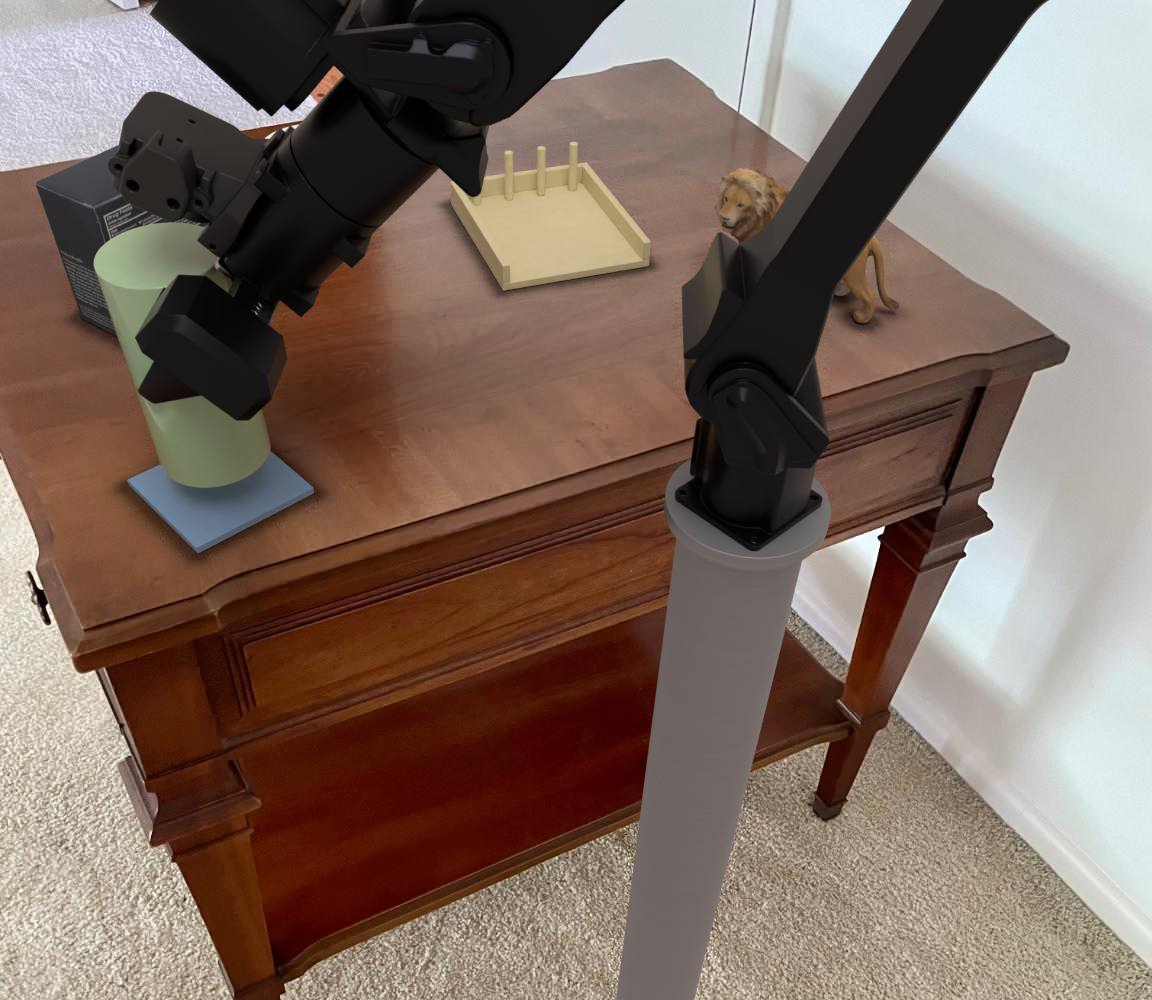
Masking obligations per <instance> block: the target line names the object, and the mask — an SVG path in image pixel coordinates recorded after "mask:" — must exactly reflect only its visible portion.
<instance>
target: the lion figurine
mask: <svg viewBox="0 0 1152 1000" xmlns="http://www.w3.org/2000/svg"><path fill="white" fill-rule="evenodd" d="M718 191H719V192H718V194H717V198H716V202H715V206H714V209H715V213H716V217H717V219H718V221H719V223H720V224H721V230H722V231H723V233H728V234H729V235H730V236H732V237H734V238H735V239H736V240H737V243H738V244H739V245H740V244H741V243H743V242H744V241H746V240H747V239H749V238H750V237H752V236H753V235H755V234H756V233H758V232H759V231H761V230H762V229H763V228H765V227H766V226H767V224H768V223H769V222H770V221H771V220H772V219H773V217H774V216H775V214H776V212H777V211H778V209H779V208H780V206H781V205H782V203H783V201H784V200H785V198H786V197H787V195H788V194H789V192H790V190H789V189H788V188H785V186H784V185H783V184H781V183H776V180H775V178H774V177H772V176H768V175H767V174H765V173H763V172H761V171H760V170H759V169H756V170H754V169H751V168H750V167H746V168H744V167H739V168H736V169H734V170H733V171H730V172H729V173H728V175H722V176H721V182H720V188H719V190H718ZM870 256H872V258H873V265H874V272H875V281H876V288H877V292H878V296H879V298H880V300H881V302H882V304H883V305H884V306H885V307H886V308H888V310H898V309H899V308H900V303H899V302H898V301H896V300H895V299H893V298H891V297H889V296H888V295H887V292H886V288H885V264H884V255H883V250H882V247H881V244H880V242H879V240H878V238H877V237H876V234H875V235H874V236H873V238H872V239H871V240H870V242H869V243H868V245H867V246H866V247H865V249H864V250H863V251H862V253H861V254H860V256H859V257H858V258H857V260H856V261H855V263H854V264H853V265H852V267H851V268H850V270H849V271H848V272H847V274H846V275H845V277H844V278H843V279H842V282H843V283H842V284H841V283H840V284H839V286H838V288H837V290H836V292H835V294H834V296H838V297H843V296H846V295H847V294H849V293H850V292H851V293H852V294H853V295H854V296H855V297H856V298H857V299H858V301H860V303H861V305H862V307H863V308H862V309H856V310H855V311H854V312H853V313H852V315H853V319H854V321H855V322H857V324H867V323H868V322H869V321H870V320H871V319H872V317H873V315H874V312H875V292H874V291H873V290H872V289H871V287H870V285H869V283H868V280H867V279H868V278H867V275H866V266H867V262H868V258H869V257H870Z"/></svg>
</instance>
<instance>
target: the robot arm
mask: <svg viewBox="0 0 1152 1000" xmlns="http://www.w3.org/2000/svg"><path fill="white" fill-rule="evenodd" d="M1049 1H1050V0H910V1H909V3H908V5H907V6H906V8H905V9H904V11H903V12H902V14H901V15H900V17H899V19H898V20H897V22H896V24H895V25H894V26H893V28H892V30H891V31H890V33H889V34H888V36H887V38H886V39H885V40H884V43H883V44H882V46H881V47H880V49H879V50H878V52H877V53H876V55H875V56H874V58H873V60H872V61H871V63H870V64H869V66H868V67H867V69H866V70H865V72H864V74H863V75H862V77H861V78H860V80H859V82H858V83H857V85H856V87H855V88H854V89H853V91H852V93H851V95H850V96H849V98H848V99H847V101H846V102H845V104H844V105H843V106H842V108H841V111H840V112H839V113H838V115H837V117H836V118H835V119H834V121H833V123H832V124H831V126H830V127H829V128H828V130H827V132H826V134H825V135H824V137H823V139H822V140H821V141H820V143H819V145H818V146H817V148H816V149H815V151H814V152H813V154H812V156H811V157H810V159H809V160H808V162H807V164H806V165H805V167H804V168H803V170H802V171H801V173H800V174H799V177H798V178H797V179H796V181H795V182H794V184H793V185H792V187H791V189H790V190H789V191H790V192H789V194H788V195H787V197H786V198H785V200H784V201H783V203H782V205H781V206H780V208H779V209H778V211H777V212H776V214H775V216H774V217H773V219H772V220H771V221H770V222H769V223H768V224H767V226H766V227H765V228H763V229H762V230H761V231H759V232H758V233H756V234H755V235H753V236H752V237H750V238H749V239H747V240H746V241H744V242H743V243H741V244H740V245H739V242H737V241H735V240H734V239H732V238H731V237H729V236H728V235H727V234H726V233H725V232H722V231H718V232H716V235H715V236H714V238H713V240H712V241H711V244H710V246H709V250H708V252H707V255H706V257H705V260H704V261H703V264H702V266H701V267H700V268H699V270H698V271H697V272H696V273H695V275H694V276H693V277H692V278H690V279H689V280H688V281H687V282H686V283H684V284H683V285H681V315H682V316H681V317H682V320H681V322H682V349H683V353H682V355H683V369H684V370H683V371H684V372H683V373H684V375H683V376H684V392H685V395H686V398H687V400H688V403H689V406H690V407H691V408H692V409H693V410H694V412H696V414H697V415H698V416H699V418H697V419H696V421H695V428H694V433H693V434H694V435H693V442H692V449H691V456H690V459H691V463H690V475H692V476H693V477H694V478H693V479H691V480H690V481H688V482H687V483H685V484H684V485H682V486H680V487H679V488H677V489H676V491H675V500H676V501H677V502H679V503H680V504H682V505H683V506H685V507H686V508H688V509H689V510H690V511H692V512H693V513H695V514H696V515H698V516H699V517H701V518H702V519H704V520H705V521H707V522H708V523H710V524H711V525H712V526H714V527H715V528H717V529H718V530H720V531H721V532H723V533H724V534H726V535H727V536H729V537H730V538H732V539H733V540H734V541H736V542H737V543H739V544H740V545H742V546H743V547H745V548H746V549H748V550H750V551H759V550H761V549H762V548H763V547H765V546H766V545H768V544H769V543H770V542H772V541H773V540H775V539H776V538H777V537H779V536H780V535H782V534H783V533H784V532H786V531H787V530H789V529H790V528H791V527H793V526H794V525H796V524H797V523H798V522H800V521H801V520H803V519H804V518H805V517H807V516H808V515H810V514H811V513H812V512H814V511H815V510H817V509H818V508H819V507H820V506H821V504H822V500H823V498H822V496H821V495H820V494H818V493H817V492H815V491H813V490H812V489H811V487H812V483H813V479H814V477H815V474H816V470H817V466H818V461H819V458H820V457H821V456H822V454H823V453H825V450H826V449H827V447H828V446H829V444H830V436H829V431H828V424H827V420H826V413H825V408H824V401H823V395H822V389H821V384H820V383H821V382H820V378H819V377H820V376H819V372H818V367H817V360H816V356H817V353H818V349H819V346H820V342H821V339H822V336H823V333H824V329H825V326H826V322H827V321H828V320H827V319H828V316H829V312H830V310H831V306H832V304H833V300H834V297H835V292H836V290H837V288H838V286H839V284H841V283H842V282H843V280H842V279H843V278H844V277H845V275H846V274H847V272H848V271H849V270H850V268H851V267H852V265H853V264H854V263H855V261H856V260H857V258H858V257H859V256H860V254H861V253H862V251H863V250H864V249H865V247H866V246H867V245H868V243H869V242H870V240H871V239H872V238H873V236H874V235H875V236H876V233H877V232H878V231H879V230H880V227H881V226H883V224H884V222H886V220H887V218H888V217H889V216H890V214H891V213H892V211H893V210H894V209H895V207H896V206H897V204H898V202H900V200H901V199H902V197H903V196H904V194H905V193H906V192H907V190H908V189H909V187H910V186H911V185H912V183H913V182H914V180H915V179H916V177H917V176H918V175H919V173H920V172H921V170H922V169H923V167H924V166H925V165H926V164H927V162H928V161H929V160H930V158H931V157H932V155H933V153H934V152H935V151H936V149H937V148H938V147H939V145H940V144H941V142H942V141H943V140H944V139H945V137H946V136H947V134H948V133H949V131H950V130H951V128H952V127H953V126H954V124H955V123H956V121H957V120H958V119H959V117H960V116H961V114H962V113H963V112H964V110H966V108H967V106H968V105H969V104H970V102H971V101H972V99H973V98H974V96H975V95H976V93H977V92H978V91H979V90H980V88H981V87H982V85H983V84H984V82H985V81H986V79H988V77H989V76H990V74H991V73H992V71H993V70H994V68H995V67H996V66H997V64H998V63H999V62H1000V60H1001V59H1002V58H1003V56H1004V55H1005V53H1006V51H1008V49H1009V48H1010V46H1011V45H1012V43H1013V42H1014V41H1015V39H1016V38H1017V37H1018V35H1019V34H1020V32H1021V30H1022V29H1023V28H1024V26H1025V25H1026V24H1027V22H1028V21H1029V20H1030V18H1031V17H1033V15H1034V14H1035V13H1036V12H1037V11H1038V10H1039V9H1040V8H1041V7H1042V6H1044V5H1045V4H1046V3H1047V2H1049ZM624 2H626V0H158V1H157V2H156V3H155V5H154V6H153V8H152V9H151V11H150V13H149V14H148V15H149V16H150V17H151V18H152V19H153V20H155V21H156V22H157V23H159V25H160V26H162V27H163V28H164V29H165V30H166V31H167V32H168V33H169V34H170V35H171V36H173V37H174V38H175V39H176V40H177V41H178V42H179V43H181V44H182V45H183V46H184V48H185V49H187V50H188V51H189V52H190V53H192V54H193V55H194V56H195V57H196V58H197V59H198V60H199V61H201V62H202V63H203V64H204V65H205V66H206V67H207V68H209V69H210V70H211V71H212V72H213V73H214V74H215V75H216V76H218V78H219V79H221V80H222V81H223V82H224V83H225V84H226V85H227V86H228V87H230V88H231V89H232V90H233V91H234V92H235V93H236V94H237V95H239V96H240V97H241V98H242V99H243V100H244V101H245V102H246V103H248V104H249V105H250V106H251V107H252V108H253V109H254V110H255V111H256V112H259V111H261V110H263V111H264V112H265V113H266V114H267V115H268V116H270V117H271V118H272V117H273V116H275V114H277V112H278V111H279V110H280V109H281V108H282V107H283V106H284V107H285V108H286V109H288V111H290V112H291V113H292V112H294V111H295V110H297V109H298V108H299V107H300V106H301V105H302V104H303V103H304V102H305V100H307V99H308V97H309V96H310V95H311V94H312V93H313V92H314V91H315V89H316V88H317V87H318V85H320V83H321V82H322V81H323V79H324V78H325V77H326V76H327V75H328V73H329V72H330V71H331V70H332V69H333V67H334V68H335V69H337V70H338V72H339V73H340V74H342V75H341V77H340V78H339V79H338V80H337V81H336V83H335V84H334V85H333V86H332V87H331V88H330V89H329V90H328V92H326V94H325V95H324V96H323V97H322V98H321V99H320V100H319V101H318V103H317V104H316V105H315V106H314V107H313V108H312V109H311V111H310V112H309V113H308V114H307V115H306V116H305V118H303V120H301V121H300V122H299V124H297V125H298V126H297V128H296V129H294V128H293V127H292V126H293V125H289V126H287V127H288V129H287V130H286V131H283V130H282V129H283V128H282V127H279V128H277V130H275V131H276V132H275V131H274V132H275V133H274V134H273V135H272V137H271V138H270V139H265V138H261V137H260V138H258V137H254V138H253V137H251V136H249V135H247V134H245V133H244V132H242V131H241V130H240V129H239V128H238V127H236V126H235V125H233V124H232V123H230V122H228V121H226V120H224V119H222V118H219V117H217V116H215V115H213V114H211V113H209V112H207V111H205V110H203V109H200V108H198V107H196V106H194V105H192V104H190V103H188V102H185V101H183V100H181V99H179V98H178V97H175V96H173V95H171V94H169V93H166V92H161V91H155V90H154V91H153V90H152V91H147V92H145V93H144V94H143V95H142V96H141V97H140V99H139V100H138V102H137V103H136V104H135V106H134V107H133V108H132V109H131V111H130V112H129V113H128V115H127V116H126V117H125V119H124V120H123V122H122V126H121V132H120V136H119V141H118V145H119V146H118V149H117V151H116V152H115V153H114V155H113V156H112V158H111V159H110V160H109V162H108V168H109V170H110V172H111V173H112V174H113V175H112V185H113V187H114V188H115V189H116V190H117V191H118V192H119V193H121V195H122V196H123V198H124V199H125V201H126V202H127V203H129V204H131V205H133V206H135V207H137V208H140V209H142V210H144V211H147V212H149V213H151V214H153V215H156V216H158V217H160V218H163V219H165V220H167V221H170V222H175V221H178V220H181V219H182V218H185V219H187V220H189V221H192V222H196V223H208V222H210V223H209V224H208V225H207V226H206V227H205V229H204V230H203V231H202V232H201V234H200V236H199V238H198V239H197V241H198V242H199V243H200V244H202V245H203V246H204V247H205V248H207V249H208V250H209V251H210V252H212V253H213V254H214V255H215V256H217V257H218V259H217V261H216V263H215V268H216V269H217V270H218V271H219V272H220V273H221V274H223V275H224V276H225V277H227V278H229V279H232V285H231V287H230V289H229V291H228V293H227V292H226V291H225V290H224V289H222V288H221V287H220V286H219V285H217V284H216V283H215V282H213V281H212V280H211V279H210V278H208V277H207V276H202V275H182V274H178V275H177V276H176V277H175V279H174V280H173V281H172V282H171V283H170V284H169V285H168V286H167V287H166V288H165V287H164V288H163V289H162V291H161V293H160V295H159V296H158V298H157V300H156V302H155V303H154V305H153V306H152V308H151V310H150V311H149V313H148V315H147V317H146V319H145V320H144V322H143V324H142V326H141V327H140V329H139V331H138V333H137V334H136V336H135V339H136V341H137V343H138V346H139V348H140V350H141V352H142V353H143V354H145V355H146V356H147V357H149V358H150V359H151V360H153V363H152V365H151V367H150V368H149V370H148V372H147V374H146V376H145V378H144V380H143V381H142V383H141V385H140V387H139V389H138V393H139V394H140V395H141V396H142V397H144V398H145V399H147V400H148V401H150V402H151V403H153V404H159V403H164V402H170V401H175V400H180V399H186V398H191V397H197V396H203V397H204V398H206V399H207V400H208V401H210V402H211V403H212V404H214V405H215V406H217V407H218V408H219V409H221V410H222V411H224V412H225V413H226V414H228V415H229V416H230V417H232V418H233V419H235V420H236V421H249V420H250V419H251V418H252V417H254V416H255V415H256V414H257V413H258V412H259V411H260V410H261V409H263V408H265V407H266V405H268V404H269V403H270V402H271V401H272V400H273V397H274V395H275V393H276V389H277V387H278V385H279V382H280V379H281V377H282V374H283V371H284V370H285V366H286V364H287V362H288V355H287V349H286V343H285V339H284V335H282V334H281V333H280V332H278V331H277V330H276V329H275V328H273V327H272V326H271V322H272V320H273V317H274V315H275V313H276V311H277V308H278V306H279V303H280V302H281V303H283V304H284V305H285V306H286V307H287V308H289V309H290V310H291V311H292V312H294V313H295V314H296V315H297V316H299V317H300V318H303V317H304V316H305V314H307V313H308V312H309V311H310V310H311V309H312V308H313V307H314V305H315V302H316V300H317V298H318V294H319V293H320V289H321V287H322V284H323V283H324V282H325V281H326V280H328V279H329V277H331V275H332V274H334V272H336V270H337V269H339V268H340V266H342V265H343V264H344V263H345V264H346V265H347V266H348V267H349V268H350V269H353V268H354V267H355V266H356V265H357V264H359V262H360V261H361V260H362V259H363V258H365V256H366V254H367V251H368V247H369V245H370V242H371V239H372V236H373V234H375V232H376V231H377V230H378V229H380V227H381V226H383V224H384V223H385V222H386V221H388V219H389V218H391V217H392V216H393V215H394V214H395V213H396V212H397V211H398V210H399V209H400V208H401V207H402V206H403V205H404V204H405V203H406V202H407V201H408V200H409V199H410V198H411V197H412V196H413V195H414V194H415V193H416V192H417V191H418V190H419V189H420V188H421V187H423V185H424V184H425V183H427V182H428V180H430V179H431V177H432V176H434V174H436V173H437V172H438V171H439V170H440V171H442V172H443V173H444V174H445V175H446V176H447V177H448V178H449V179H450V180H451V181H453V182H454V183H455V184H456V185H458V186H459V187H460V188H461V189H462V190H463V191H464V192H465V193H466V194H467V195H468V196H470V197H477V196H479V194H480V193H481V190H482V186H483V181H484V177H485V176H486V173H487V167H488V163H489V154H488V150H487V149H488V147H487V137H488V133H489V129H490V126H493V125H495V124H498V123H500V122H503V121H505V120H507V119H509V118H511V117H512V116H513V115H515V114H516V113H517V112H519V110H521V109H522V108H523V107H524V106H525V105H526V104H527V103H528V102H530V100H532V99H533V97H535V96H536V95H537V94H538V93H539V92H540V91H541V90H542V89H543V88H544V87H545V86H546V85H547V84H548V83H550V81H552V80H553V79H554V78H555V77H556V76H557V75H558V74H559V73H561V71H562V70H563V69H564V68H566V66H568V65H569V63H570V62H571V61H572V60H573V58H574V57H575V56H576V55H577V54H578V53H579V52H580V50H581V49H582V48H583V46H585V44H586V43H587V42H588V40H590V38H591V37H592V36H593V34H594V33H595V32H596V31H597V30H598V28H599V27H600V26H601V25H602V24H603V22H604V21H606V20H607V18H608V17H610V16H611V15H612V14H613V13H614V12H615V11H616V10H618V8H619V7H620V6H621V5H622V4H623V3H624ZM813 500H814V501H813ZM752 542H754V543H752Z"/></svg>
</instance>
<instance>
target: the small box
mask: <svg viewBox="0 0 1152 1000" xmlns="http://www.w3.org/2000/svg"><path fill="white" fill-rule="evenodd" d="M118 146H119V144H117V145H114V146H113V147H111V148H108V149H106V150H104V151H102V152H100V153H98V154H95V155H93V156H91V157H89V158H86V159H83V160H81V161H80V162H76V163H75V164H73V165H70V166H68V167H66V168H63V169H62V170H59V171H57V172H55V173H53V174H51V175H49V176H46V177H45V178H44V177H43V178H41V179H40V180H37V181H35V183H34V184H35V187H36V190H37V194H38V195H39V197H40V200H41V203H42V206H43V208H44V212H45V215H46V218H47V221H48V224H49V227H50V230H51V232H52V235H53V239H54V241H55V244H56V247H57V250H58V253H59V255H60V259H61V261H62V265H63V268H64V270H65V273H66V276H67V279H68V283H69V286H70V289H71V291H72V294H73V297H74V299H75V302H76V305H77V308H78V309H77V310H78V313H79V315H80V318H81V319H82V320H84V321H85V322H87V323H89V324H90V325H91V324H92V325H93V326H95V327H97V328H99V329H101V330H103V331H105V332H107V333H109V334H111V335H113V336H115V337H117V335H116V332H115V329H114V326H113V323H112V320H111V317H110V314H109V311H108V308H107V305H106V302H105V299H104V296H103V293H102V290H101V287H100V284H99V281H98V278H97V275H96V272H95V269H94V258H95V255H96V253H97V252H98V250H99V249H100V248H101V247H102V246H103V245H104V244H105V243H106V242H108V241H109V240H110V239H112V238H113V237H115V236H117V235H119V234H121V233H123V232H126V231H128V230H131V229H134V228H137V227H141V226H145V225H150V224H157V223H169V222H170V221H167V220H165V219H163V218H160V217H158V216H156V215H153V214H151V213H149V212H147V211H144V210H142V209H140V208H137V207H135V206H133V205H131V204H129V203H127V202H126V201H125V199H124V198H123V196H122V195H121V193H119V192H118V191H117V190H116V189H115V188H114V187H113V185H112V175H113V174H112V173H111V172H110V170H109V168H108V162H109V160H110V159H111V158H112V156H113V155H114V153H115V152H116V151H117V149H118ZM172 223H188V224H194V225H198V226H201V227H204V228H205V227H206V226H207V225H208V224H209V223H210V222H208V223H196V222H192V221H189V220H187V219H185V218H182V219H181V220H178V221H175V222H172Z"/></svg>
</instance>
